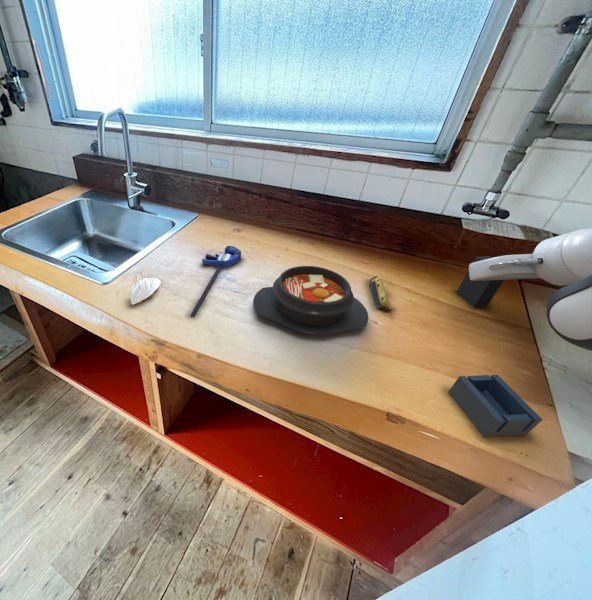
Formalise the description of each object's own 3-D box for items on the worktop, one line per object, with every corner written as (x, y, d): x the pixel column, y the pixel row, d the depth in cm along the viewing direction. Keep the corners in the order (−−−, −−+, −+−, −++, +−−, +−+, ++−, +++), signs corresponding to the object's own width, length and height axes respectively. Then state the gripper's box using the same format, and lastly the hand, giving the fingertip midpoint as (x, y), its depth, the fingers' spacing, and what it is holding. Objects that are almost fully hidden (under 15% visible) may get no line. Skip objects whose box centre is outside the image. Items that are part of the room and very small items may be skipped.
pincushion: (148, 278, 88) (146, 260, 85) (167, 283, 86) (166, 265, 83) (122, 302, 80) (118, 283, 77) (143, 308, 78) (140, 289, 74)
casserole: (248, 332, 70) (251, 301, 65) (256, 284, 84) (259, 256, 79) (373, 349, 64) (387, 317, 59) (358, 296, 79) (369, 266, 74)
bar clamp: (211, 242, 99) (243, 246, 96) (211, 249, 100) (243, 254, 97) (169, 306, 76) (209, 315, 73) (170, 314, 77) (209, 323, 74)
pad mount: (526, 435, 49) (543, 419, 47) (484, 437, 49) (498, 421, 47) (484, 390, 56) (497, 374, 53) (448, 391, 56) (459, 375, 53)
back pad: (486, 306, 74) (511, 269, 68) (473, 307, 74) (497, 270, 68) (468, 291, 78) (489, 255, 72) (456, 292, 78) (476, 256, 72)
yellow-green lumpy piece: (371, 284, 85) (383, 279, 83) (379, 317, 74) (393, 312, 73) (365, 275, 84) (377, 270, 82) (372, 307, 73) (386, 301, 72)
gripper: (511, 279, 56) (448, 291, 69) (629, 274, 56) (543, 288, 69) (505, 244, 57) (444, 263, 70) (621, 239, 56) (537, 259, 70)
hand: (494, 275), depth 70 cm, fingers open, 8 cm apart
